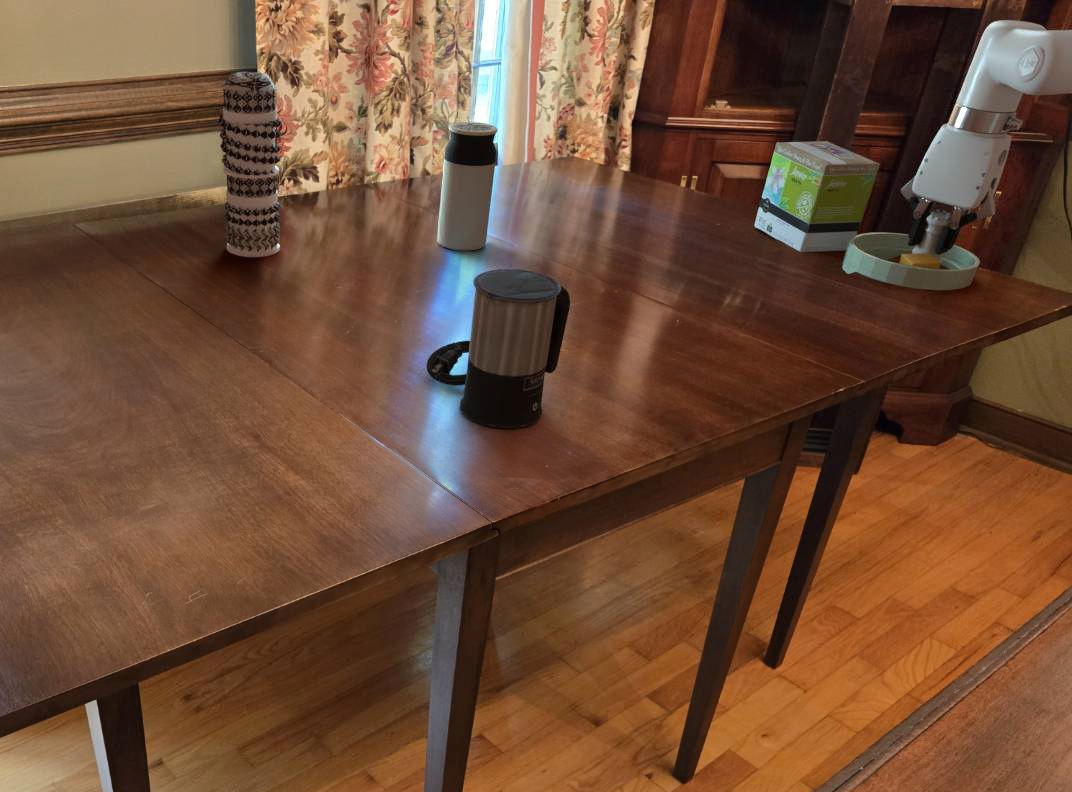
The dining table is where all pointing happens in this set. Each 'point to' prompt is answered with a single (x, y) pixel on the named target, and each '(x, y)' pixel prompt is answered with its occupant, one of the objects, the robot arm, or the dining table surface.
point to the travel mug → (467, 186)
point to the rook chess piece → (933, 234)
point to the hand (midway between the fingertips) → (927, 247)
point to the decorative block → (919, 261)
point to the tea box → (815, 195)
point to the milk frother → (507, 347)
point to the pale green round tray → (876, 248)
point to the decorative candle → (251, 164)
